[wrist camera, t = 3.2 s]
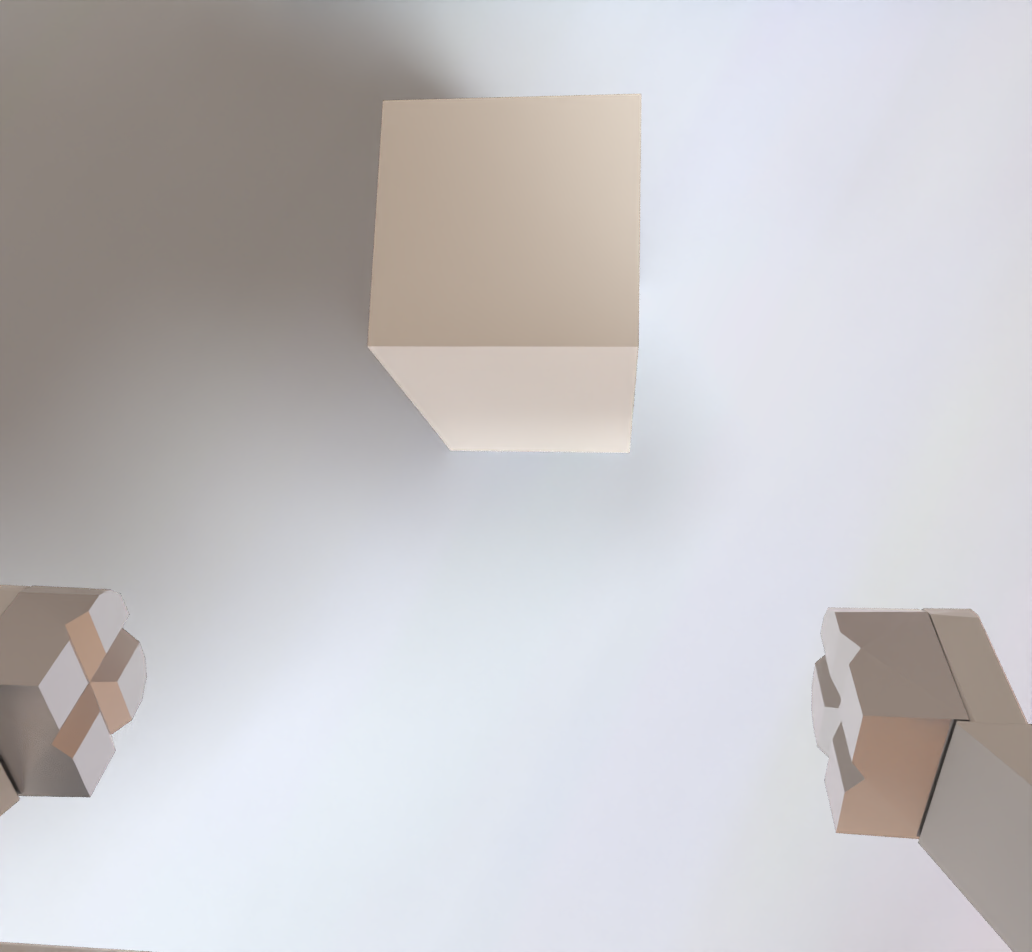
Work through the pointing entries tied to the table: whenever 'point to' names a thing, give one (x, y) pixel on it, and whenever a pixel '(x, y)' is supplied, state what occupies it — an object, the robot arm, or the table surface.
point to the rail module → (511, 268)
